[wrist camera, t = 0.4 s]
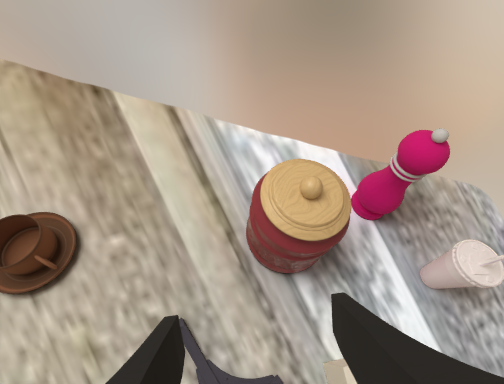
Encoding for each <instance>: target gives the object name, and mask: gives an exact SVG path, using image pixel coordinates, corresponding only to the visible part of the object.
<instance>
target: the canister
mask: <svg viewBox="0 0 504 384" xmlns="http://www.w3.org/2000/svg"><path fill="white" fill-rule="evenodd" d="M350 213H351V199H350V195H349V192H348V189H347V187H346V186H345V184H344V182H343V181H342V180H341V178H340V177H339V176H338V175H337V174H336V173H335V172H333V171H332V170H331V169H329V168H328V167H326V166H324V165H322V164H320V163H318V162H315V161H311V160H305V159H293V160H288V161H284V162H282V163H280V164H278V165H276V166H275V167H273V168H272V169H271V170H270V171H269V172H267V173H266V174H265V175H264V176H263V177H262V178H261V179H260V180H259V182H258V183H257V185H256V187H255V189H254V192H253V196H252V202H251V206H250V216H249V218H248V222H247V227H246V237H247V242H248V245H249V247H250V250H251V252H252V253H253V255H254V256H255V258H256V259H257V260H258V261H259V262H260V263H261V264H262V265H264V266H265V267H267V268H269V269H271V270H273V271H276V272H280V273H296V272H300V271H303V270H305V269H307V268H309V267H310V266H312V265H313V264H314V263H315V262H316V261H317V260H318V259H319V258H320V256H322V255H324V254H325V253H327V252H328V251H329V250H330V249H331V248H332V247H333V246H335V245H336V244H337V243H338V242H339V241H340V240H341V239H342V238H343V237H344V235H345V233H346V231H347V229H348V226H349V221H350Z"/></svg>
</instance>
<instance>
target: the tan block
mask: <svg viewBox="0 0 504 384" xmlns="http://www.w3.org/2000/svg"><path fill="white" fill-rule="evenodd" d="M323 365H324V369H325V373H326V377H327V382H328V384H357V382H356V380H355V378H354V376H353V375H352V373H351V371H350V369H349V367H348V365H347V363H346V361H345V359H339V360H334V361H329V362H324V363H323Z"/></svg>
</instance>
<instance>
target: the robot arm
mask: <svg viewBox="0 0 504 384" xmlns="http://www.w3.org/2000/svg"><path fill="white" fill-rule="evenodd" d="M331 298H332V324H333V333H334V336H335V338H336V341H337V344H338V346H339V349H340V351H341V353H342V355H343V357H344V359H345V361H346V363H347V365H348V367H349V369H350V371H351V373H352V375H353V376H354V378H355V380H356V382H357V384H504V378H503V377H500V376H497V375H494V374H491V373H489V372H486V371H483V370H481V369H478V368H475V367H473V366H470V365H468V364H465V363H463V362H460V361H458V360H456V359H454V358H451V357H449V356H447V355H445V354H443V353H440V352H438V351H436V350H434V349H432V348H430V347H428V346H426V345H424V344H422V343H420V342H418V341H417V340H415V339H413V338H411V337H409V336H408V335H406V334H404V333H402V332H401V331H399V330H398V329H396V328H394V327H393V326H391V325H389V324H388V323H386V322H385V321H383V320H382V319H380V318H379V317H377V316H376V315H375V314H373V313H372V312H370V311H369V310H367V309H366V308H365V307H363V306H362V305H361V304H359V303H358V302H356V301H355V300H354V299H352V298H351V297H350V296H348V295H347V294H345V293H337V294H331ZM184 358H185V349H184V343H183V338H182V333H181V328H180V323H179V318H178V315H175V316H167V317H164V318H163V320H162V321H161V322H160V323H159V324H158V325H157V327H156V328H155V329H154V330H153V332H152V333H151V334H150V335H149V337H148V338H147V339H146V340H145V341H144V343H143V344H142V345H141V346H140V347H139V348H138V350H137V351H136V352H135V353H134V354H133V355H132V356H131V357H130V359H129V360H128V361H127V362H126V363H125V364H124V365H123V366H122V367H121V368H120V369H119V371H118V372H117V373H116V374H115V375H114V376H113V377H112V378H111V379H110V380H109V381H108V382H107V383H105V384H180V383H181V379H182V373H183V366H184Z"/></svg>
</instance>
